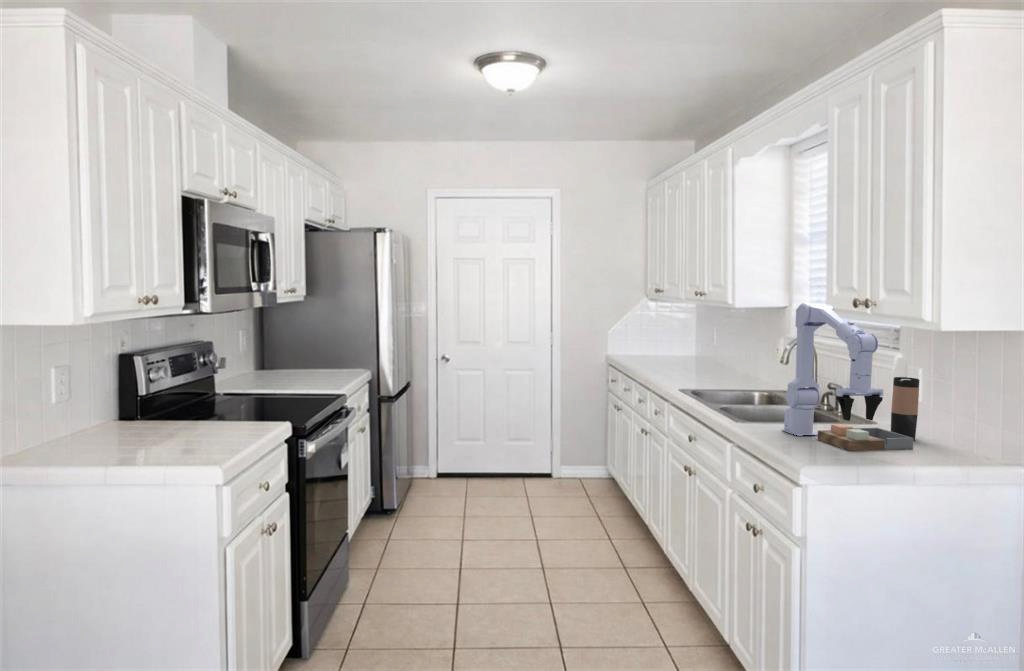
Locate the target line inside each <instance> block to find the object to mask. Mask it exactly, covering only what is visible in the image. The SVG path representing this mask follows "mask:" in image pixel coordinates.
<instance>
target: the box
mask: <svg viewBox="0 0 1024 671" xmlns="http://www.w3.org/2000/svg"><path fill="white" fill-rule="evenodd" d="M853 429H860V430H864V431H867V432H869V436H872V437H876V438H879V439H882V440H885V449H884V450H883V451H897V450H900V451H901V450H914V441H913V440H914V438H912V437H908V436H905V435H901V434H898V433H894V432H891V430H887V429H884V428H881V427H853Z"/></svg>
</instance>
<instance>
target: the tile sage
mask: <svg viewBox="0 0 1024 671" xmlns="http://www.w3.org/2000/svg"><path fill="white" fill-rule="evenodd" d="M846 437H847V438H850V439H853V440H869V432H867V431H864V430H860V429H846Z"/></svg>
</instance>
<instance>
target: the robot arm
mask: <svg viewBox="0 0 1024 671" xmlns="http://www.w3.org/2000/svg"><path fill="white" fill-rule="evenodd" d="M826 324H827V325H828V326H829V327H831V328H832V329H833V330H835V334H836V336H837V337H838V338H839V339H840V340H842V342H844V343H845V344H846V346H847V350H848V356H849V359H850V370H849V385H848V387H846V388H836V389H835V398H836V400H837V402H838V404H839V407H840V410H841V414H842V418H843V420H844V421H848V422H849V421H851V417H852V408H853V405H854V402H855V398H852V397H856V396H857V397H861V396H862V397H864V402H865V419H866V420H869V421H874V417H875V415H876V411H877V409H878V407H879V406H880V404H881V402H882V401H883V396H884V389H883V388H872V374H873V373H872V369H873V355H874V353H876V351H877V349H878V346H879V341H878V338H877V337H876V335H874V333H866V332H864V330H863V329H860V327H858V326H857V325H855V321H853V320H845V321H844V320H843V318H842V317H841V316H840V315H838V314H837V313H836V312H835V307H834V306H832V305H831V304H829V303H805V302H802V303H800V304H799V305H798V306H797V308H796V309H795V328H796V348H795V349H796V354H795V356H796V357H795V378H794V379H792V380H791V381H790V382H788V383H787V389H786V392H785V402H786V404H787V405H788V406H787V407H786V408H785V412H784V425H783V428H781V431H783V432H785V433H789V434H790V435H793V434H794V436H796V435H797V437H804V436H803V435H817V436H818V432H817V433H816V432H814V415H815V413H814V412H815V409H817V406H819V404H820V402H821V399H822V398H821V392H820V384H819V383H817V382H816V381H815V379H814V378H813V377H814V346H815V344H814V340H815V338H814V336H815V332H816V331H817V329H819V328H821V327H823V326H825V325H826Z"/></svg>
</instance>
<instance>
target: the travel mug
mask: <svg viewBox="0 0 1024 671" xmlns="http://www.w3.org/2000/svg"><path fill="white" fill-rule="evenodd" d="M892 383H893V384H892V397H891V398H892V399H891V412H890V413H891V414H890V431H891V432H894V433H898V434H901V435H905V436H908V437H912V438H914V440H913V442H914V441H916V435H917V433H916V432H917V425H918V424H917V423H918V416H919V415H918V412H919V399H920V398H919V396H920V395H919V393H920V379H919V378H916V377H914V378H913V377H907V376H895V377H893V382H892Z"/></svg>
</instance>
